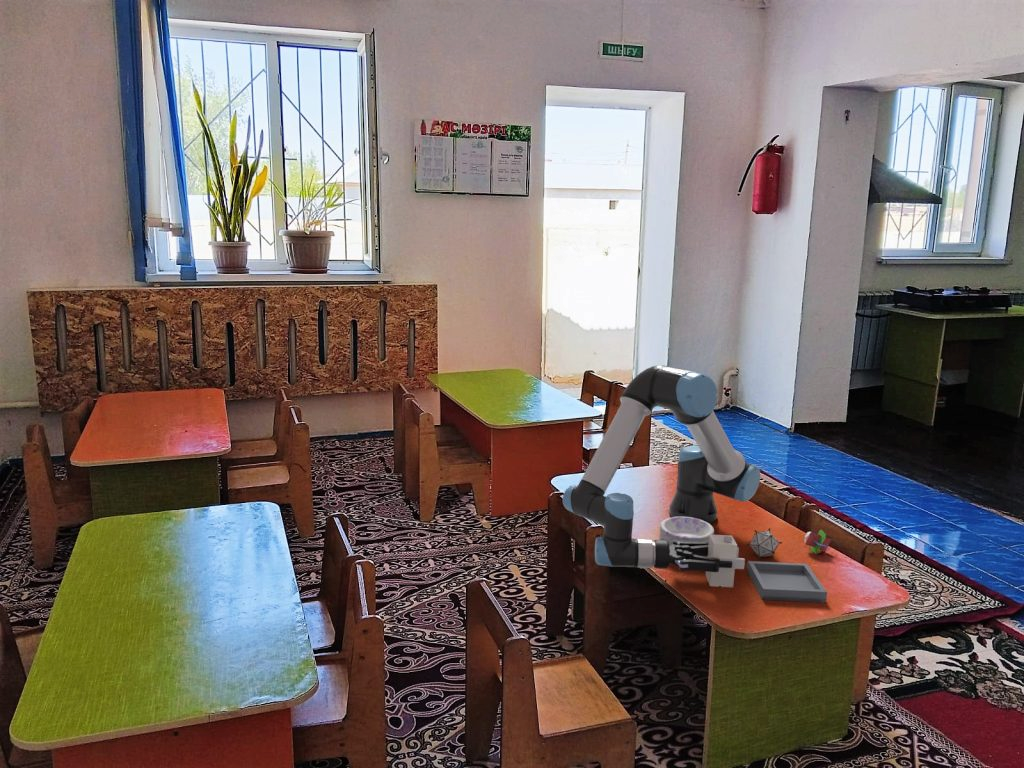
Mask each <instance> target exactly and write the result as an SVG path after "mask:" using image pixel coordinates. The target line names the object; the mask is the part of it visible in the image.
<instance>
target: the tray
mask: <svg viewBox="0 0 1024 768" xmlns="http://www.w3.org/2000/svg"><path fill="white" fill-rule="evenodd" d="M746 572H747V574H748V576H749V578H750V577H751V578H750V580H751V582H752V581H753V582H752V583H754V584H753V585H754V587H755V589H756V591H757V592H758V595H759V596H760V598H761V600H763V601H780V602H781V601H784V602H785V601H786V602H787V601H788V602H799V603H800V602H801V603H802V602H803V603H804V602H805V603H821V604H822V603H823V604H827V596H828V591H827V590H826V588H825V587H824V586H823V584H822V583H821V581H820V580H819V578H818V577H817V576H816V574H815V573H814V572H813V570H812V569H811V568H810V566H809V565H808V563H795V562H793V563H792V562H779V561H778V562H776V561H775V562H774V561H755V560H754V561H752V560H748V561H747V567H746Z"/></svg>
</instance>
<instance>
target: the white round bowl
mask: <svg viewBox="0 0 1024 768" xmlns="http://www.w3.org/2000/svg"><path fill="white" fill-rule="evenodd" d="M659 528H660V529H659V540H667V541H668V542H669V546H670V545H673V541H674V540H676V541H684V542H709V535H715V528H714V526H712V525H711V523H707V522H705V521H703V520H700V519H697V518H692V517H672V516H670V517H668V518H666V519H663V520H662V521H661V523H660V525H659Z"/></svg>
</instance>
